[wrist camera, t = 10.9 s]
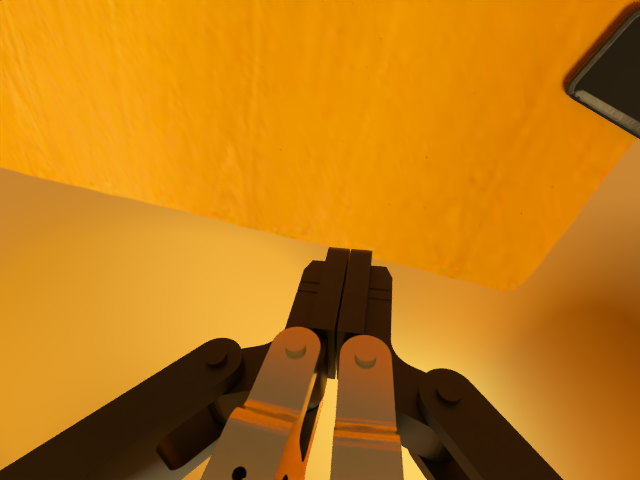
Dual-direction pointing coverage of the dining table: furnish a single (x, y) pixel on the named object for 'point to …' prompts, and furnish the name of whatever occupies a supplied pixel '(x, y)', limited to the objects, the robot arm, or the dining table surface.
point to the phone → (613, 77)
